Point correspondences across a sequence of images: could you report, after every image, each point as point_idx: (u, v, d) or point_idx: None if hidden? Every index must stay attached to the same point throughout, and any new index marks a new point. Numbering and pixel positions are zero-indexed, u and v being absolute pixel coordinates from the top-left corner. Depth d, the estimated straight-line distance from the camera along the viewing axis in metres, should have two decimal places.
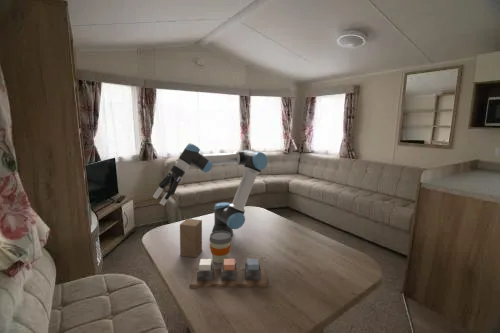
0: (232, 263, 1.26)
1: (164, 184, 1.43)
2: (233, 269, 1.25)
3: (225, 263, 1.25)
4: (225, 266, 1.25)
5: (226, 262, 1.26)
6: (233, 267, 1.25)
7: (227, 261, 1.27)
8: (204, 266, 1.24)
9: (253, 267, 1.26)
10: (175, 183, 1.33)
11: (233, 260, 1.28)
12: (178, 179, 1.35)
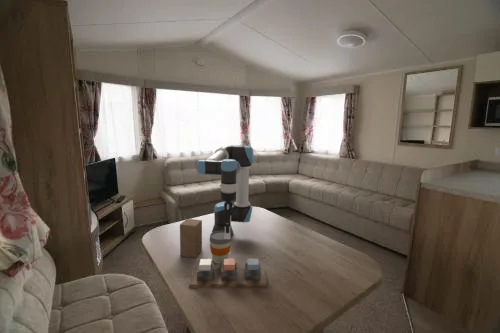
0: (232, 263, 1.26)
1: None
2: (233, 269, 1.25)
3: (225, 263, 1.25)
4: (225, 266, 1.25)
5: (226, 262, 1.26)
6: (233, 267, 1.25)
7: (227, 261, 1.27)
8: (204, 266, 1.24)
9: (253, 267, 1.26)
10: (226, 213, 1.15)
11: (233, 260, 1.28)
12: (229, 207, 1.16)
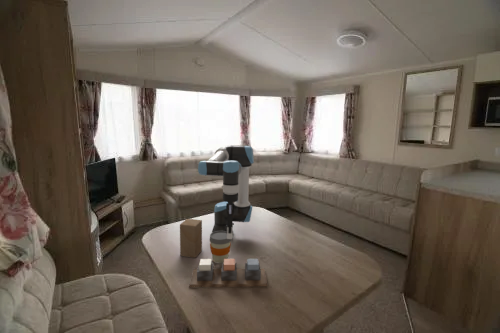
0: (232, 263, 1.26)
1: None
2: (233, 269, 1.25)
3: (225, 263, 1.25)
4: (225, 266, 1.25)
5: (226, 262, 1.26)
6: (233, 267, 1.25)
7: (227, 261, 1.27)
8: (204, 266, 1.24)
9: (253, 267, 1.26)
10: (229, 217, 1.18)
11: (233, 260, 1.28)
12: (231, 212, 1.17)
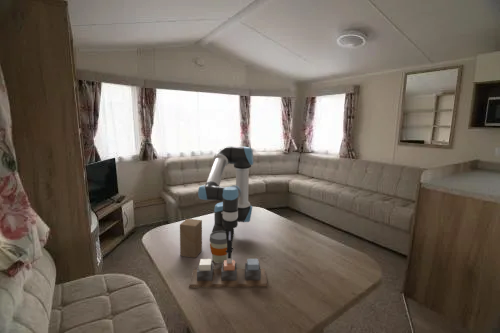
0: (232, 264, 1.26)
1: None
2: (233, 270, 1.25)
3: (225, 264, 1.26)
4: (225, 267, 1.25)
5: (226, 264, 1.26)
6: (233, 268, 1.25)
7: None
8: (204, 266, 1.24)
9: (253, 267, 1.26)
10: (228, 243, 1.20)
11: (233, 261, 1.29)
12: (230, 239, 1.19)
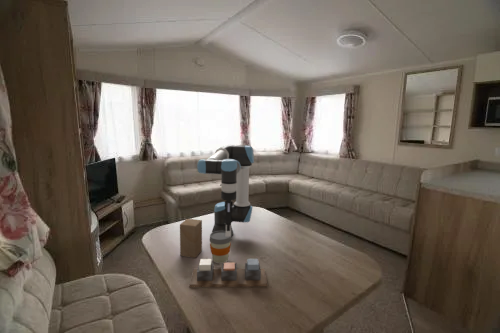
0: (232, 267, 1.26)
1: None
2: None
3: (225, 267, 1.26)
4: (225, 270, 1.25)
5: (226, 266, 1.27)
6: None
7: (227, 265, 1.28)
8: (204, 266, 1.24)
9: (253, 267, 1.26)
10: (227, 215, 1.20)
11: (233, 264, 1.29)
12: (229, 210, 1.19)
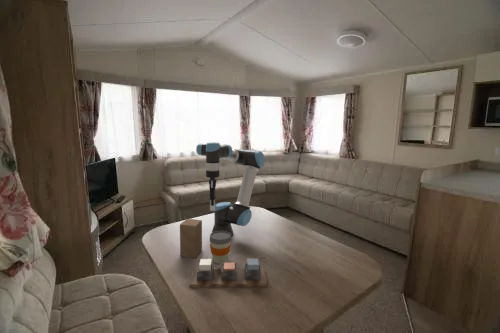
0: (232, 267, 1.26)
1: None
2: None
3: (225, 267, 1.26)
4: (225, 270, 1.25)
5: (226, 266, 1.27)
6: None
7: (227, 265, 1.28)
8: (204, 266, 1.24)
9: (253, 267, 1.26)
10: (211, 190, 1.37)
11: (233, 264, 1.29)
12: (212, 186, 1.36)
